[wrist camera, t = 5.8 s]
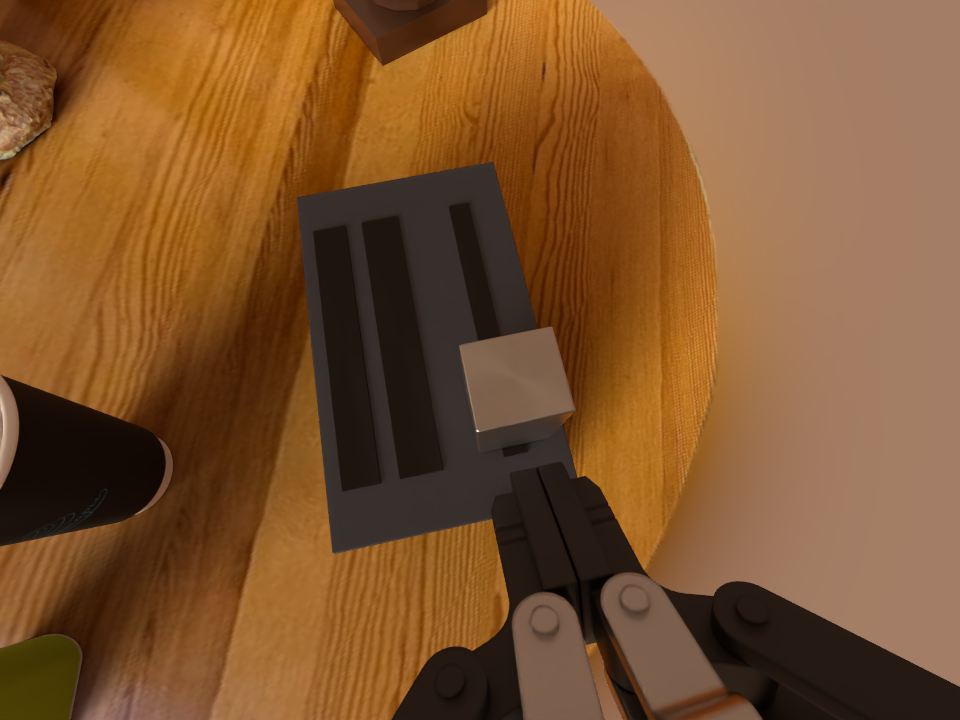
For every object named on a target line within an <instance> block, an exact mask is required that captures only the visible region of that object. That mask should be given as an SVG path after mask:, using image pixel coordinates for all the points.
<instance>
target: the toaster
mask: <svg viewBox="0 0 960 720" xmlns="http://www.w3.org/2000/svg"><path fill="white" fill-rule="evenodd" d="M297 206H298V216H299V226H300V236H301V246H302V256H303V265H304V275H305V285H306V295H307V305H308V315H309V325H310V335H311V345H312V355H313V365H314V375H315V385H316V394H317V404H318V414H319V424H320V434H321V444H322V454H323V464H324V474H325V484H326V494H327V504H328V514H329V523H330V533H331V543H332V553H333V554H336V553H340V552H345V551H349V550H354V549H359V548H363V547H368V546H372V545H377V544H381V543H386V542H390V541H395V540H399V539H404V538H408V537H413V536H417V535H422V534H426V533H431V532H435V531H440V530H444V529H449V528H453V527H458V526H462V525H467V524H472V523H476V522H481V521H485V520H490V519H492V515H491V510H492V507H493V503H494V499H495V496H498V495H502V494H507V493H511V492H512V487H511V481H510V474H509V473H511V472H516V471H520V470H525V469H530V468H534V467H535V469H536V467H538V466H543V465H547V464H552V463H556V462H561V461H562V462H563V464H564V466H565V468H566V470H567V472H568V474H569V476H570V479H574V478H577V474H576V471H575V467H574V463H573V459H572V456H571V452H570V448H569V444H568V441H567V437H566V433H565V429H564V426H563V424H562V425H561V426H560V427H559V428H558V429H557V430H556V431H555V432H554V433H553V434H552V435H551V436H550V437H549V438H547V439H542V440H538V441H533V442H528V443H524V444H519V445H514V446H510V447H505V448H500V449H496V450H491V451H486V452H482V453H481V452H479V449H478V444H477V439H476V434H475V429H474V424H473V420H472V415H471V410H470V405H469V400H468V395H467V390H466V385H465V379H464V374H463V368H462V363H461V357H460V352H459V345H461V344H466V343H471V342H476V341H481V340H486V339H491V338H496V337H501V336H506V335H511V334H516V333H521V332H526V331H531V330H536V329H538V328H537V324H536V320H535V316H534V313H533V309H532V305H531V301H530V298H529V294H528V290H527V286H526V282H525V279H524V275H523V271H522V267H521V264H520V260H519V256H518V252H517V249H516V245H515V241H514V237H513V234H512V230H511V226H510V222H509V218H508V215H507V211H506V207H505V203H504V200H503V196H502V192H501V188H500V185H499V181H498V177H497V173H496V170H495V166H494V163H493V162H489V163H484V164H478V165H473V166H467V167H462V168H456V169H451V170H445V171H440V172H434V173H429V174H423V175H418V176H412V177H407V178H401V179H396V180H390V181H385V182H379V183H374V184H368V185H363V186H357V187H352V188H346V189H341V190H335V191H330V192H324V193H319V194H313V195H308V196H302V197H297Z"/></svg>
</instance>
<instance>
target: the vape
mask: <svg viewBox="0 0 960 720" xmlns="http://www.w3.org/2000/svg"><path fill="white" fill-rule="evenodd" d="M82 658H83V655H82V650H81V647H80V646H79V644H78V643H77V642H76V641H75V640H74V639H72V638H71V637H68V636H66V635H62V634H48V635H43V636H40V637H36V638H33V639H30V640H26V641H23V642H20V643H17V644H13V645H10V646H7V647H4V648H0V720H71V716H72V711H73V706H74V701H75V695H76V690H77V685H78V680H79V675H80V670H81V665H82Z"/></svg>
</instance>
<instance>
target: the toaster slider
mask: <svg viewBox="0 0 960 720" xmlns="http://www.w3.org/2000/svg"><path fill="white" fill-rule="evenodd" d="M459 352H460V357H461V363H462V368H463V374H464V379H465V385H466V390H467V395H468V400H469V405H470V410H471V415H472V420H473V424H474V429H475V434H476V439H477V444H478V449H479V452H481V453H482V452H486V451H491V450H496V449H500V448H505V447H510V446H514V445H519V444H524V443H528V442H533V441H538V440H542V439H547V438H549V437H550V436H551V435H552V434H553V433H554V432H555V431H556V430H557V429H558V428H559V427H560V426H561V425H562V424H563V423H564V422H565V421H566V420H567V419H568V418H569V417H570V416H571V415H572V414H573V413H574V412H575V410H576V409H575V405H574V402H573V398H572V395H571V391H570V387H569V384H568V380H567V376H566V373H565V369H564V366H563V362H562V358H561V355H560V351H559V348H558V344H557V340H556V337H555V333H554V330H553V327H545V328H540V329H536V330H531V331H526V332H521V333H516V334H511V335H506V336H501V337H496V338H491V339H486V340H481V341H476V342H471V343H466V344H461V345H459Z"/></svg>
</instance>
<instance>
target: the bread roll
mask: <svg viewBox="0 0 960 720" xmlns="http://www.w3.org/2000/svg"><path fill="white" fill-rule="evenodd" d="M56 73H57V71H56V69H55V68H53V66H52V65H51V64H50V63H49V60H48V59H47V58H45V57H43V56H37V55H34V54H32V53H30V52H28V51H27V50H25V49H24V48H21V47H19V46H17V45H15V44H12V43H9V42H7V41H0V160H4V159H8V158H12V157H14V155H16V152H17V151H20V150H21V149H22V148H23V147H24V146H25V145H26V144H28V143H29V142H31V141H32V140H34V138H35V137H36V136H39V135H40V133H42V132H43V131H45V130H46V129H48V128H50V127H51V122H50V121H51V120H52V116H53V114H52V112H53V105H54V98H53V90H54V86H55V84H56V79H57V76H56Z"/></svg>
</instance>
